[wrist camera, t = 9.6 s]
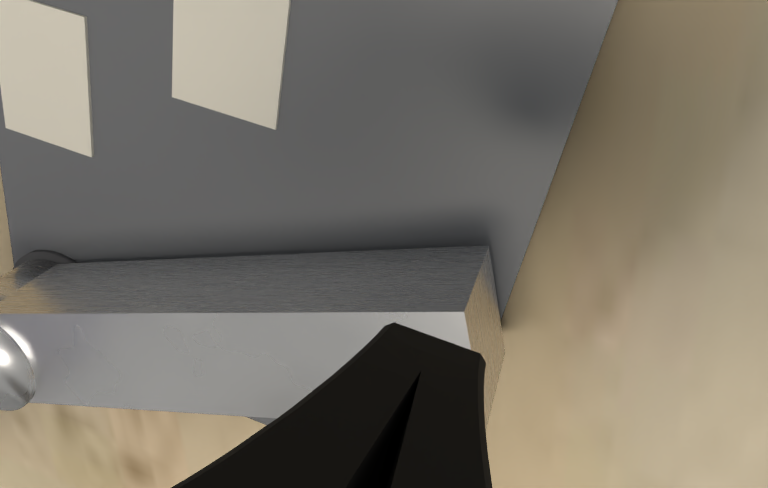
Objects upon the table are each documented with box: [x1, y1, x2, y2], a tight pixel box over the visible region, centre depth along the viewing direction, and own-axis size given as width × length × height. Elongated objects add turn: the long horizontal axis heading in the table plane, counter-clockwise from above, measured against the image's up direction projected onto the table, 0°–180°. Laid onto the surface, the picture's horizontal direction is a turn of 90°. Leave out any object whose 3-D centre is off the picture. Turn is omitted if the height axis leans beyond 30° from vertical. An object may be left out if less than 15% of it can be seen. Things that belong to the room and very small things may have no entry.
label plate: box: [0, 0, 618, 425], centre depth 18 cm, size 16×17×1 cm
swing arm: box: [0, 245, 505, 430], centre depth 18 cm, size 17×4×3 cm, turn 103°
